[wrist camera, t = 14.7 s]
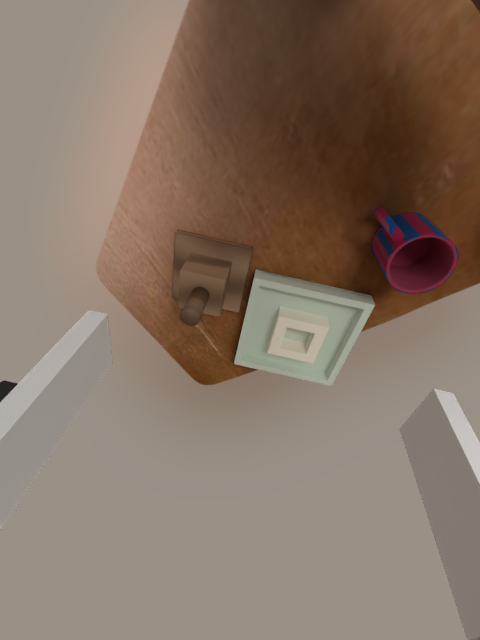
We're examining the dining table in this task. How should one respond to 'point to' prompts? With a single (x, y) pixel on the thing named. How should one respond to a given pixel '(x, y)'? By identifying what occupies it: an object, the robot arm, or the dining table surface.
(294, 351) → the ring
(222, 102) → the dining table surface
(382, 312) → the dining table surface
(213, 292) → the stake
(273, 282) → the tray
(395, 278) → the mug
